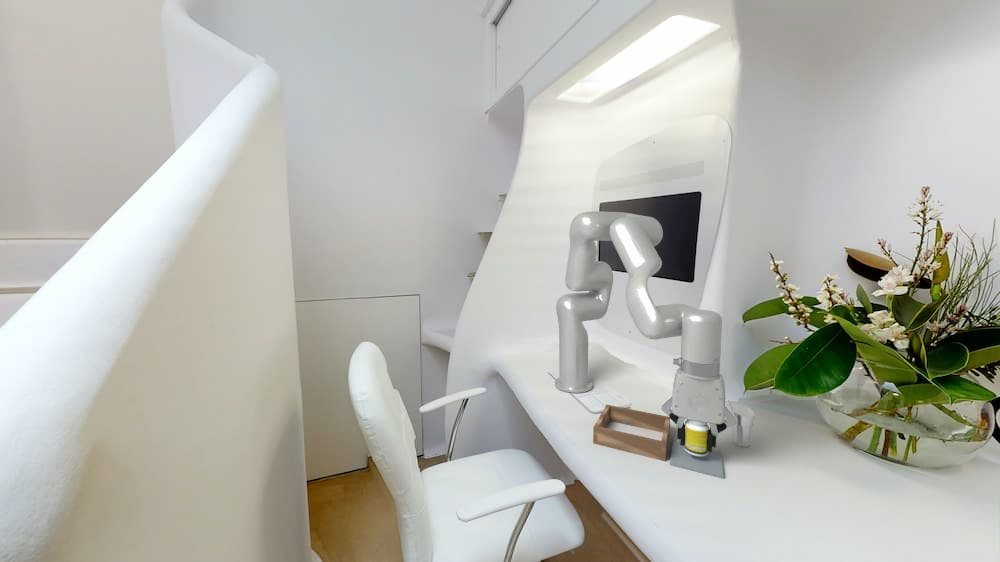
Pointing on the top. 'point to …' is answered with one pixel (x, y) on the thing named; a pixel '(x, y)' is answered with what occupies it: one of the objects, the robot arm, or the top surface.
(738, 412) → the milkshake
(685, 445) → the supplement bottle
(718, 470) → the slate mat
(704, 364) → the robot arm
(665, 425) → the walnut box
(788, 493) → the top surface
